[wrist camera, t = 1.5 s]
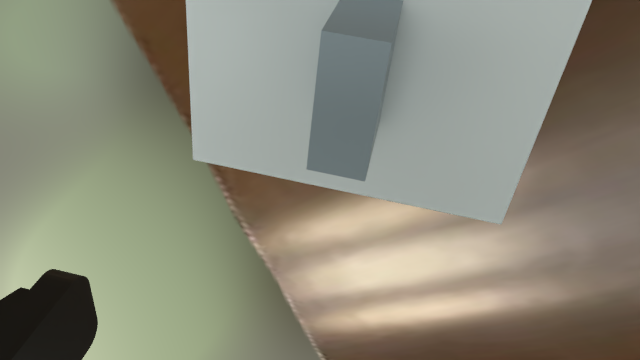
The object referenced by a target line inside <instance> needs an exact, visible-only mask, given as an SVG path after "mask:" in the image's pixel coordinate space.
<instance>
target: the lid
mask: <svg viewBox="0 0 640 360" xmlns="http://www.w3.org/2000/svg"><path fill="white" fill-rule="evenodd" d="M591 2H592V0H186V14H187V36H188V58H189V80H190V102H191V124H192V144H193V145H192V146H193V160H197V161H202V162H207V163H212V164H216V165H221V166H226V167H231V168H235V169H240V170H245V171H250V172H254V173H259V174H264V175H269V176H273V177H278V178H283V179H288V180H292V181H297V182H302V183H307V184H311V185H316V186H321V187H326V188H330V189H335V190H340V191H344V192H349V193H354V194H359V195H363V196H368V197H373V198H378V199H382V200H387V201H392V202H397V203H401V204H406V205H411V206H416V207H420V208H425V209H430V210H435V211H439V212H444V213H449V214H454V215H458V216H463V217H468V218H473V219H477V220H482V221H487V222H492V223H496V224H502V221H503V219H504V216H505V214H506V212H507V209H508V207H509V204H510V202H511V199H512V197H513V194H514V192H515V189H516V187H517V184H518V182H519V179H520V177H521V175H522V172H523V170H524V167H525V165H526V162H527V160H528V157H529V155H530V152H531V150H532V147H533V145H534V142H535V140H536V138H537V135H538V133H539V130H540V128H541V125H542V123H543V120H544V118H545V115H546V113H547V110H548V108H549V105H550V103H551V101H552V98H553V96H554V93H555V91H556V88H557V86H558V83H559V81H560V78H561V76H562V73H563V71H564V68H565V66H566V64H567V61H568V59H569V56H570V54H571V51H572V49H573V46H574V44H575V41H576V39H577V36H578V34H579V31H580V29H581V27H582V24H583V22H584V19H585V17H586V14H587V12H588V9H589V7H590V4H591Z"/></svg>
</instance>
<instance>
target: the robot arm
mask: <svg viewBox="0 0 640 360" xmlns="http://www.w3.org/2000/svg"><path fill="white" fill-rule="evenodd" d="M97 325H98V322H97V315H96V311H95V306H94V302H93V297H92V293H91V288H90V284H89V280H88V279H87V278H86V277H84V276H81V275H76V274H72V273H68V272H64V271H60V270H56V269H52V270H49V271H47V272H46V273H44V274H43V275H42V276H41V278H40V279H39V280H38V281H37V282H36V283H35V284H34V285H33V287H32V288H31V289H30V290H29V289H25V288H19V289H17V290H16V291H14V292H13V293H11V294H9V295H8V296H6V297H5V298H3V299H1V300H0V360H82V358H83V357H84V355H85V354H86V352H87V351H88V349H89V348H90V346H91V344H92V342H93V340H94V338H95V334H96V331H97Z"/></svg>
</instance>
